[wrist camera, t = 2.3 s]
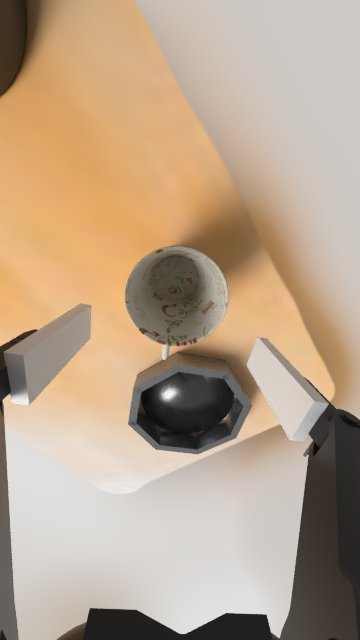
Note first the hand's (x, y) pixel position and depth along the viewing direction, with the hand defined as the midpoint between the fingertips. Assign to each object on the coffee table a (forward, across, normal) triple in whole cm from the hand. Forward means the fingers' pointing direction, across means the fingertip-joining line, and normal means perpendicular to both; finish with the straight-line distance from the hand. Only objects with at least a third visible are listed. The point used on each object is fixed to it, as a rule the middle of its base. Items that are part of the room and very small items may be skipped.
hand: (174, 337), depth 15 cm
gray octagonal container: (+12, +6, -18) cm, 22 cm away
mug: (+12, 0, 0) cm, 12 cm away
